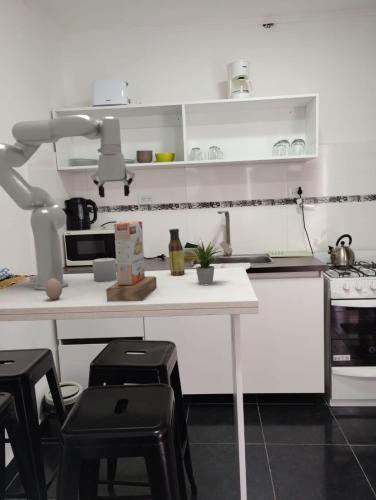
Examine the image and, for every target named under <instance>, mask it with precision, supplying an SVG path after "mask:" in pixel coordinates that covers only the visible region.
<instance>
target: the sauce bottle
mask: <svg viewBox="0 0 376 500" xmlns="http://www.w3.org/2000/svg"><path fill="white" fill-rule="evenodd" d="M168 230H169V235H170V238H169V239H170V240H169V243H168V245H167V246H168V257H169V258H168V261H169V270H170V275H171V276H183V275H184V274H185V268H186V267H185V259H184V257H185V256H184V247H183V244H182V241H181V240H180V234H179V233H180V229H179V228H170V229H168Z"/></svg>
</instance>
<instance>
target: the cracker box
mask: <svg viewBox="0 0 376 500" xmlns="http://www.w3.org/2000/svg"><path fill="white" fill-rule="evenodd" d="M113 228H114V243H115V259H116V273H117V279H116V281H117V282H118V285H134V284H136V283H137V282H139V281H140V280H142V279H143V278H145V277H146V276H145V257H144V253H145V251H144V236H143V235H144V233H143V232H144V231H143V221H141V220H138V221H137V220H135V221H133V220H132V221H124V222H117V223H114V225H113ZM117 282H116V283H117Z"/></svg>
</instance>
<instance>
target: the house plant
mask: <svg viewBox="0 0 376 500" xmlns="http://www.w3.org/2000/svg"><path fill="white" fill-rule="evenodd" d="M211 244H212V241H210V242H209V244H208V245H207V247H206V249H205V246H204V242H203V241H201V246H200V244H197V245H196V246H197V247H194V248H193V247H190V249H192V251H193V252H194V253H195V254H196V256H197V257H198V259H197V258H195V257H193V256H189V259H192V260H195V261H196V263H197V265H198V264H199V266H195V270H196V274H197V280H198V284H199V285H201V284H203V286H206V285H205V284H209V285H212V284H213V283H214V275H215V266H213V265H211V264H212V263H213V262H214V261H217V262H219V259H220V258H219V257H220V256H222V255H217V256H213V255H215V254H217V253H221V252H222V250H218V249H220V248H221V245H220V246H215V244H214V243H213V244H212V245H211ZM223 246H224V245H222V247H223ZM214 247H215V248H214ZM224 247H225V246H224ZM217 250H218V251H217Z"/></svg>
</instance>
